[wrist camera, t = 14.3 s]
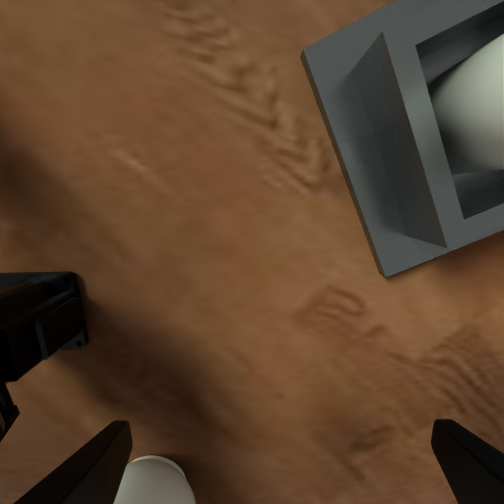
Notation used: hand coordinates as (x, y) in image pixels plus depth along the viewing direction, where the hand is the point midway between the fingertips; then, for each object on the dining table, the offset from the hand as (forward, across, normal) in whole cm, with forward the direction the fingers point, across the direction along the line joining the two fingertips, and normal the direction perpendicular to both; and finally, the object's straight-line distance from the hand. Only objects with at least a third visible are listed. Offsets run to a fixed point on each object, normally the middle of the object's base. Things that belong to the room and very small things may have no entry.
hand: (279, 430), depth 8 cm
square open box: (+13, -13, -11) cm, 21 cm away
